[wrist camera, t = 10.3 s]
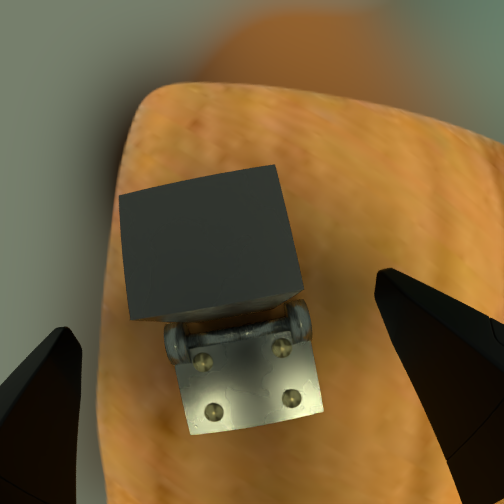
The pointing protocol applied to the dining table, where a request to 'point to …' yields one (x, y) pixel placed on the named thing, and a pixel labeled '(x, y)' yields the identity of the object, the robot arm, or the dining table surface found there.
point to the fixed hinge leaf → (246, 372)
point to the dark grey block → (208, 248)
